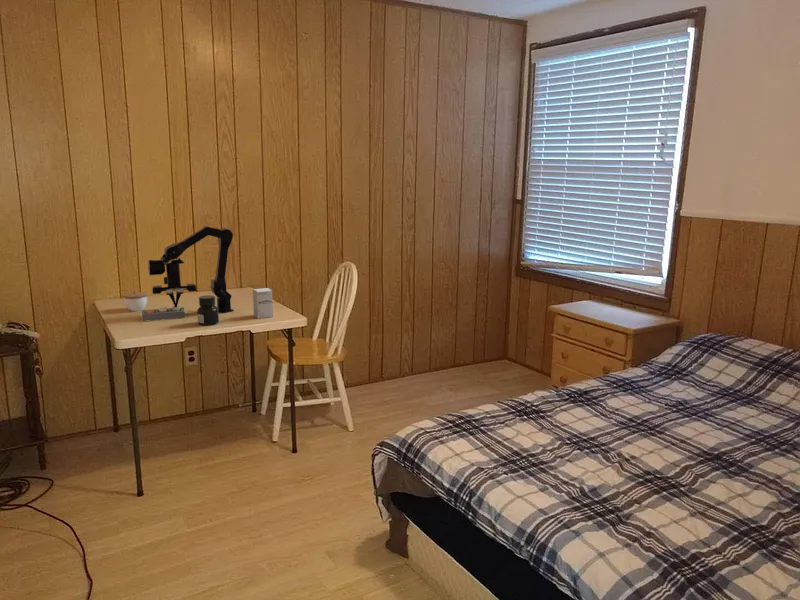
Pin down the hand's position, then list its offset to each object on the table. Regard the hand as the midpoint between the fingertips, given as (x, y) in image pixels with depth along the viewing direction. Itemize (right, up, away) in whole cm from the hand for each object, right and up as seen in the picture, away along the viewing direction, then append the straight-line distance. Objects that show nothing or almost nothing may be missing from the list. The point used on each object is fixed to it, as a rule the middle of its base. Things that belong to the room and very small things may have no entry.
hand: (175, 306), depth 282 cm
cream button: (-5, -2, -1) cm, 6 cm away
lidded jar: (-24, -2, +13) cm, 27 cm away
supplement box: (+40, -5, +2) cm, 40 cm away
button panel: (-5, -5, -1) cm, 7 cm away
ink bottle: (+19, -7, -11) cm, 23 cm away
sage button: (0, -2, 0) cm, 2 cm away
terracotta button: (-10, -4, -3) cm, 12 cm away
